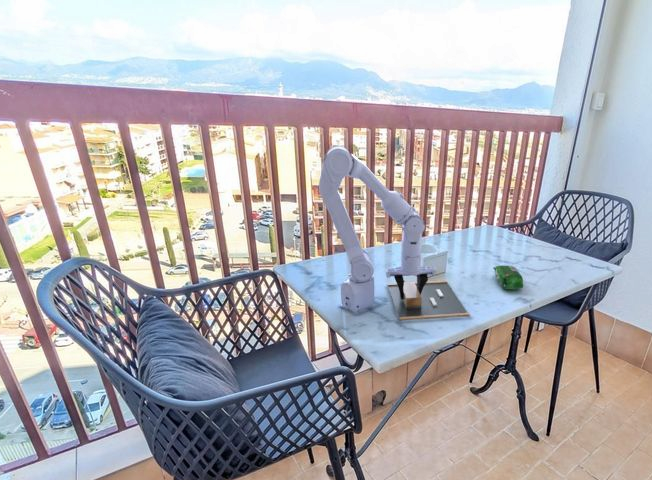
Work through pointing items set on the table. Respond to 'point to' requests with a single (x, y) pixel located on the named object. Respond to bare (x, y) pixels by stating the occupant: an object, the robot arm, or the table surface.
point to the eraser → (411, 296)
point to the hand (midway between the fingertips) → (410, 297)
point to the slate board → (429, 302)
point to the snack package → (508, 277)
